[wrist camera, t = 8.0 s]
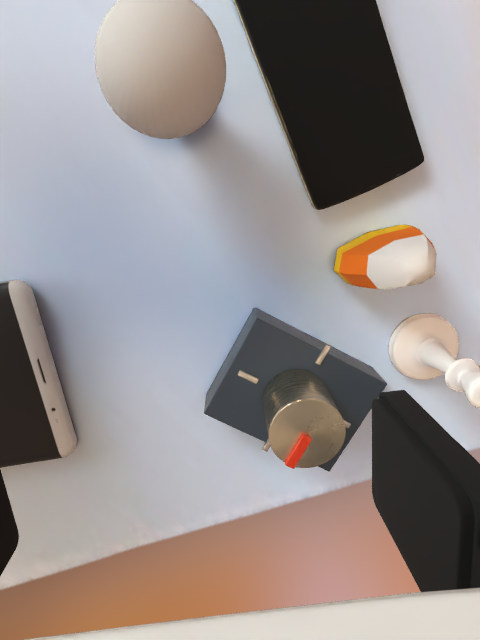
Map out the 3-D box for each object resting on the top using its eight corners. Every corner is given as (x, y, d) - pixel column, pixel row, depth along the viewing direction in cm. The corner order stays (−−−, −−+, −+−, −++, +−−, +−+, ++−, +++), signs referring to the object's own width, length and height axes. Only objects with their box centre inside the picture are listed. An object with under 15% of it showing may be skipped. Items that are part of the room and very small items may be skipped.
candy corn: (335, 287, 29) (373, 316, 22) (323, 247, 29) (357, 262, 21) (417, 257, 29) (486, 275, 21) (407, 215, 28) (474, 219, 20)
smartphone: (318, 214, 27) (219, -43, 23) (314, 214, 28) (220, -32, 24) (427, 164, 26) (345, -108, 22) (419, 166, 27) (339, -93, 23)
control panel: (202, 400, 31) (200, 421, 28) (257, 300, 29) (260, 311, 26) (317, 453, 33) (326, 479, 30) (376, 361, 31) (392, 378, 28)
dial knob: (282, 358, 27) (293, 388, 23) (340, 386, 28) (361, 421, 23) (251, 412, 28) (255, 452, 24) (307, 438, 29) (322, 482, 24)
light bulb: (195, 174, 27) (176, 156, 17) (114, 119, 26) (47, 68, 16) (245, 90, 26) (254, 21, 16) (163, 30, 25) (120, -83, 15)
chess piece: (392, 312, 30) (470, 362, 20) (460, 314, 30) (570, 364, 20) (384, 376, 31) (454, 452, 21) (449, 377, 31) (547, 453, 22)
